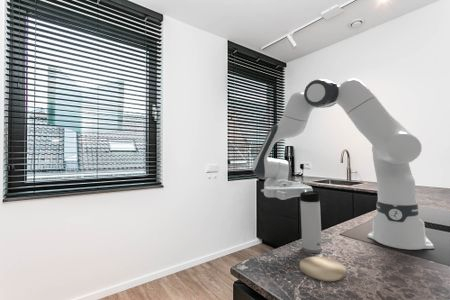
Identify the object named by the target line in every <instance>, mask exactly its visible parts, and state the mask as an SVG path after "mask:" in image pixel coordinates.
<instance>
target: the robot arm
mask: <svg viewBox="0 0 450 300" xmlns="http://www.w3.org/2000/svg"><path fill="white" fill-rule="evenodd" d="M336 104H337V105H338V106H340V107H341V108H342V110H343V111H344V112H345V114H346V115H347V116H348V118H349V119H350V120H351V122H352V123H353V125H354V126H355V128H356V129H357V130H358V131H359V132H360V133H361V134H362V135H363V136H364V137H365V138H366V139H367V141H368V142H369V143H370V144H371V145H372V146H371V152H372V159H373V165H374V172H375V177H376V184H377V185H376V186H377V187H376V189H377V201H376V211H377V212H376V213H375V214H374V215H372V231H370V233H367V238H369V239H371V240H374V241H376V242H377V243H379V244H382V245H384V246H387V247H391V248H395V249H401V250H410V251H412V250H415V251H416V250H423V249H424V250H425V249H427V250H428V249H429V250H431V249H435V247H434V243H432V242H431V240H430V239H429V238H428V237H427V236H426V235H427V232H426V226H425V222H424V221H423V219H421V218H420V217H419V205H418V203H417V196H416V181H415V178H414V176H413V174H412V170H411V167H410V163H412V162H413V161H414V160H416V159H418V158H419V156H420V155H421V152H422V143H421V141H420V140H419V139H418V138H417V136H415V135H413V134H411V132H409V131H408V130H407V129H406V128H405V127H404V126H403V125H402V124H401V123H400V122H399V121H398V120H397V119H395V118H394V117H393V116H392V115H391V114H390V113H389V111H388V110H387V109H386V108H385V107H384V105H383V104H382V103H381V102H380V101H379V99H378V97H377V96H376V95H375V94H374V93H373V92H372V90H371V89H370V88H369V87H368V86H367V85H366V84H364V83H363V82H362V81H361V80H359V79H357V78H350V79H347V80H345V81H344V82H342V83H340V84H337V83H335V82H333V81H331V80H328V79H323V78H317V79H313V80H311V81H310V82H309V83H308V84H307V85H306V87H305V89H304V91H303V92H302V91H301V92H294V93H293V94H291V95H290V97H289V99H288V101H287V104H286V105H285V108H284V111H283V114H282V116H281V118H280V120H279V122H277V123H276V124H273V125H272V126H271V128H270V130H269V131H268V132H267V135H266V137H265V138H264V141H263V143H262V145H261V147H260V149H259V151H258V152H257V154H256V157H255V158H254V159H253V162H252V165H251V170H252V172H253V173H254V175H255V176H256V177H258V178H266V179H265V180H264V183H263V189H260V192H261V193H263V195H264V197H266V198H277V199H279V200H282V201H283V200H287V199H292V198H299V197H300V194H301V193H302V192H307V191H314V190H313V187H312V186H311V185H309V184H305V183H302V182H301V181H293V180H292V181H291V178H292V173H293V172H292V170H293V169H292V166H291V164H290V162H289V161H288V160H287V159H280V158H273V157H269V155H270V153H271V151H272V150H273V147H274V145H275V144H276V143H277V142H278V141H281V140H284V139H290V138H291V139H292V138H294V137H297V136H299V135H301V134H302V133H303V132H304V131H305V128H306V126H307V123H308V121H309V117H310V115H311V112H312V111H313V110H314V109H315V108H316V109H317V108H320V109H321V108H331V107H333V106H335V105H336Z"/></svg>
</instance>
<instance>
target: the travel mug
mask: <svg viewBox="0 0 450 300" xmlns="http://www.w3.org/2000/svg"><path fill="white" fill-rule="evenodd" d="M320 194H321V191H320V190H313V191H307V192H302V193H301V194H300V196H299V197H300V221H301V222H300V223H301V245H302V246H301V247H302V248H301V249H302V250H303V251H304V252H306V253H309V254H319V253H321V252H322V251H323V246H322V245H323V242H322V223H321V222H322V221H321V220H322V219H321V218H322V217H321V203H320V202H321V201H320V200H321V199H320Z"/></svg>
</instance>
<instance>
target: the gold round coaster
mask: <svg viewBox="0 0 450 300" xmlns="http://www.w3.org/2000/svg"><path fill="white" fill-rule="evenodd" d="M299 269H300V272H302V274H305V276H308V277H310V278H311V279H315V280H319V281H323V282H324V281H325V282H337V280H338V281H341V280H343V279H345V278H346V277H347V268H346V266H345V265H344V264H343V263H341V262H339V261H337V260H334V259H332V258H329V257H324V256H308V257H305V258H303V259H301V260H300V262H299Z"/></svg>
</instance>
